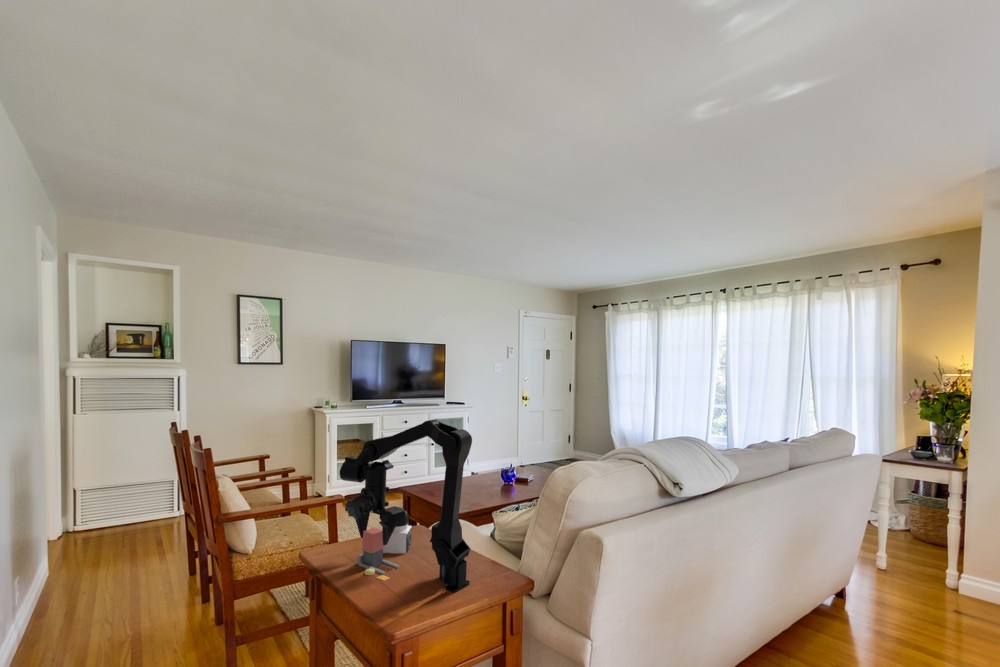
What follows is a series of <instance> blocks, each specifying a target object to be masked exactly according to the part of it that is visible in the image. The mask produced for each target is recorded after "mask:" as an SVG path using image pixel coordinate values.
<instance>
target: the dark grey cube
mask: <svg viewBox="0 0 1000 667" xmlns="http://www.w3.org/2000/svg"><path fill="white" fill-rule="evenodd" d="M362 552H363V553H362V554H363V563H364V564H366V565H369V566H372V567H374V568H375V567H376V566H378V565H379V566H382V565H383V564H384V563H383V560H384V559H383V556H384V553H383V549H381V550H379V551H377V552H374V553H371V552H368V551H365V550H363V549H362ZM376 568H377V567H376Z"/></svg>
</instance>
